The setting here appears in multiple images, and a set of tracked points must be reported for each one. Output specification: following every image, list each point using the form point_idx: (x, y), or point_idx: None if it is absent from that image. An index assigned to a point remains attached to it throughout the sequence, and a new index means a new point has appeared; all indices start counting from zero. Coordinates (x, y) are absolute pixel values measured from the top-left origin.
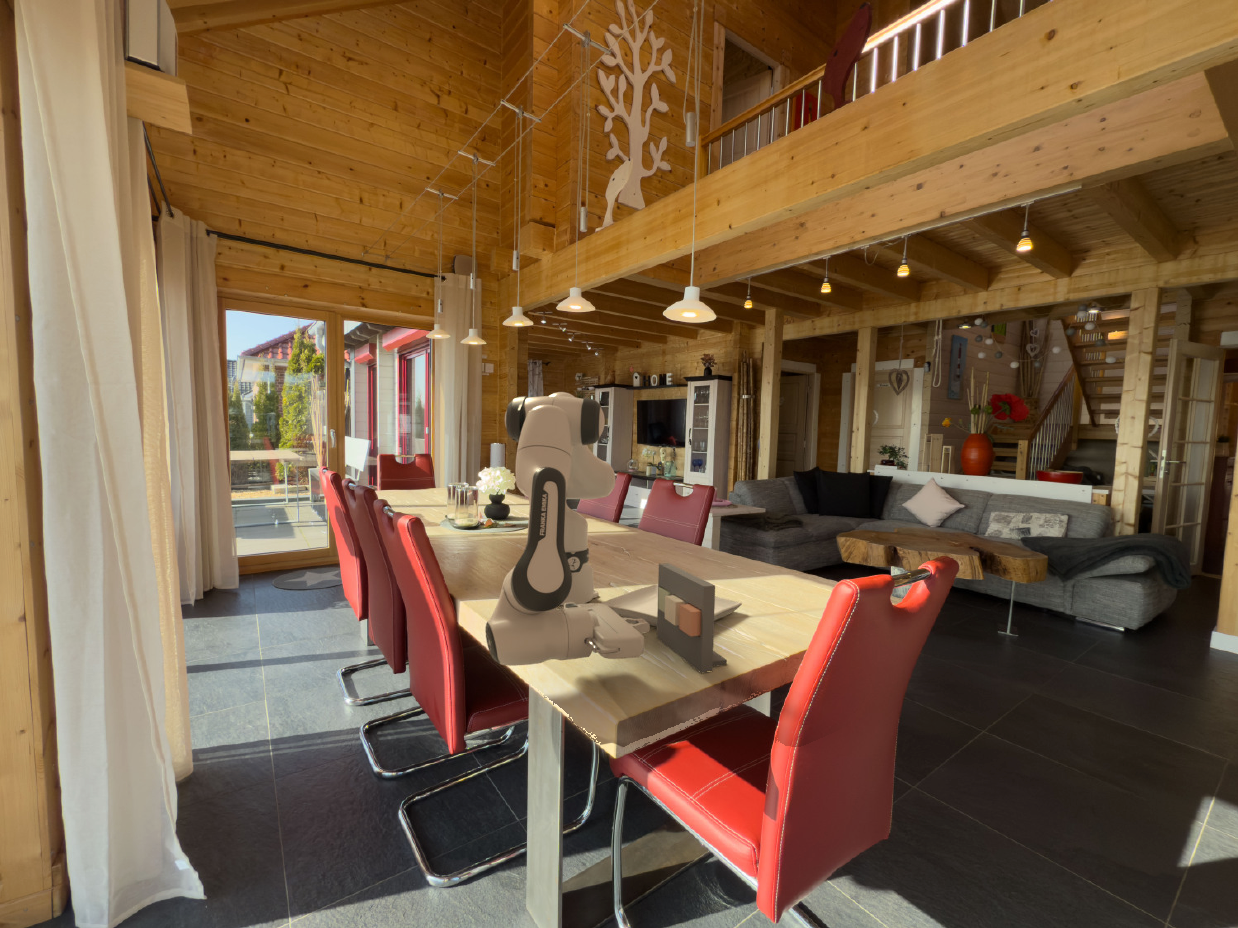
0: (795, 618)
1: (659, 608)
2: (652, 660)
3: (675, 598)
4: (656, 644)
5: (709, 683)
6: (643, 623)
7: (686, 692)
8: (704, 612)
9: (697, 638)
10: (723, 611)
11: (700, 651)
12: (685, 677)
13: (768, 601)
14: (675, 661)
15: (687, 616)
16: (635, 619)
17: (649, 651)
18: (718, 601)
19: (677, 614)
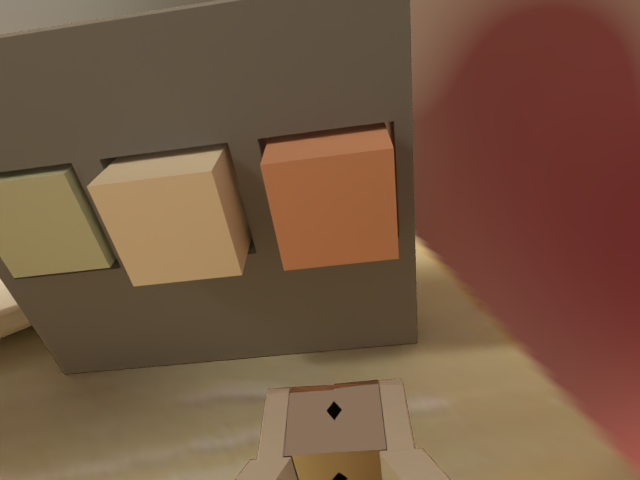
0: None
1: (24, 274)
2: (240, 471)
3: (156, 166)
4: (111, 396)
5: (506, 347)
6: (408, 422)
7: (607, 453)
8: (410, 124)
9: None
10: None
11: (405, 284)
12: (446, 403)
13: None
14: (290, 386)
15: (355, 187)
16: (270, 459)
17: (149, 447)
18: None
19: (231, 224)
